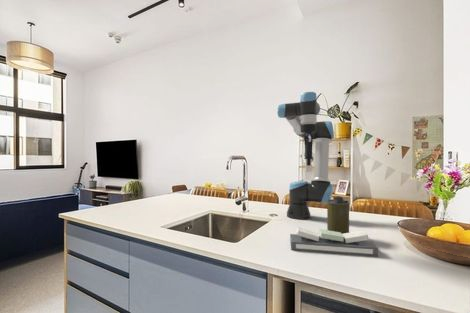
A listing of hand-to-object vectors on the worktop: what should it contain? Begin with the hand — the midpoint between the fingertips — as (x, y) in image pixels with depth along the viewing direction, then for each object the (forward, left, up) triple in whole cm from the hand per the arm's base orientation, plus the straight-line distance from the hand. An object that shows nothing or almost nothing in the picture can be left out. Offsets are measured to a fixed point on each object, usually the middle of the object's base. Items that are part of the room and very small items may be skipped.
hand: (308, 172), depth 115 cm
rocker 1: (+12, -2, -28) cm, 30 cm away
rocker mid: (+12, +8, -28) cm, 31 cm away
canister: (-5, +15, -33) cm, 36 cm away
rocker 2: (+12, +18, -28) cm, 35 cm away
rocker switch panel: (+12, +8, -32) cm, 35 cm away
